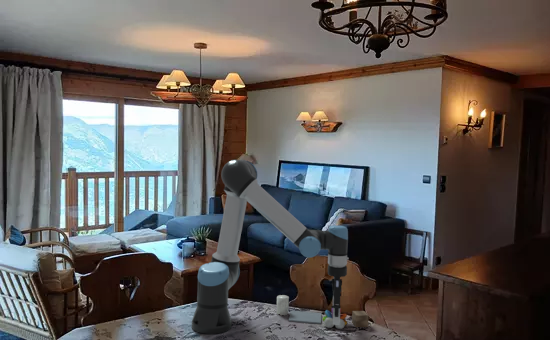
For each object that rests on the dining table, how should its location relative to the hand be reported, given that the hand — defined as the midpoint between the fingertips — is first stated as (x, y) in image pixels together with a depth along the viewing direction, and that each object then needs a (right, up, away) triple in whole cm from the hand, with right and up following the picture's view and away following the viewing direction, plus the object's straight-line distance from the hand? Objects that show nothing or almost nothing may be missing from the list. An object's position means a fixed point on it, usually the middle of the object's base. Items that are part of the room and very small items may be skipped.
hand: (335, 318), depth 174 cm
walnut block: (+10, -4, +2) cm, 11 cm away
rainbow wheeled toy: (-1, -3, 0) cm, 3 cm away
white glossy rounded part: (-21, -2, +12) cm, 24 cm away
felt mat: (-12, -2, +8) cm, 14 cm away
